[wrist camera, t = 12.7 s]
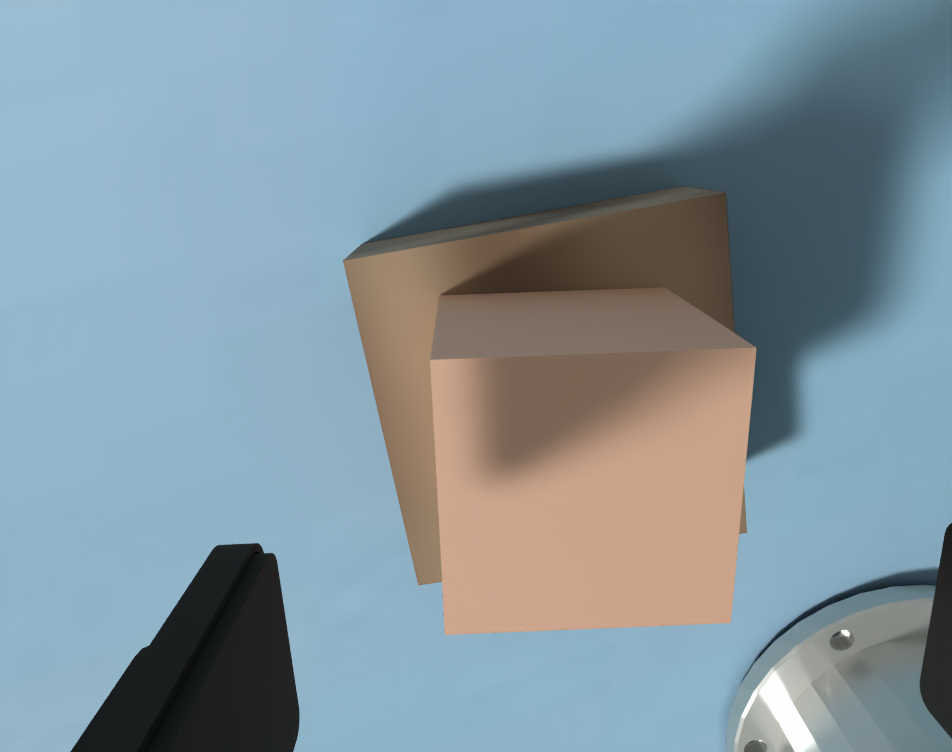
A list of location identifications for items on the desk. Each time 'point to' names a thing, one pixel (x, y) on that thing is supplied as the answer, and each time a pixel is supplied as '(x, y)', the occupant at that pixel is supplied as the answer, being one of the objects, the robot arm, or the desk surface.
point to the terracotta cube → (587, 459)
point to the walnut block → (513, 271)
